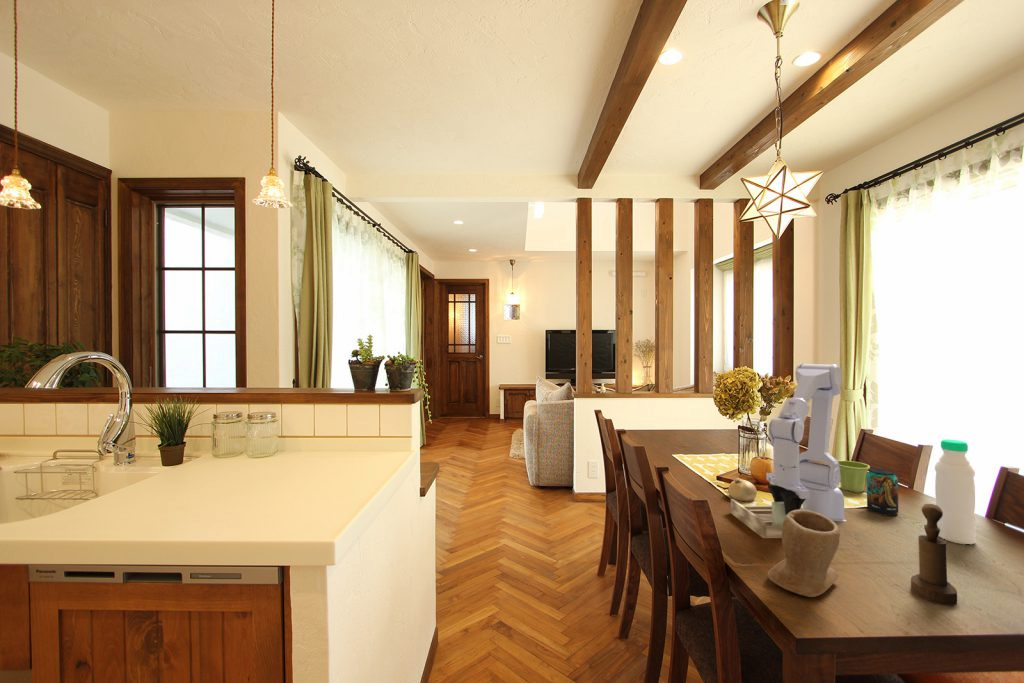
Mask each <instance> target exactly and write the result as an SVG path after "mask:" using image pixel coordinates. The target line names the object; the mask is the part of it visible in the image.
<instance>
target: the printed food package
mask: <svg viewBox="0 0 1024 683" xmlns="http://www.w3.org/2000/svg"><path fill="white" fill-rule="evenodd" d="M866 506H867V508H868V509H869V510H870V511H871V512H873V513H875V514H879V515H884V516H895V515H897V514H898V513H899V478H898V477H897V476H896V473H895V472H894V471H893V470H890V469H889V470H888V469H884V468H878V467H877V468H874V467H873V468H872V467H871V468H869V469H868V472H867V474H866Z"/></svg>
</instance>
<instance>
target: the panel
mask: <svg viewBox="0 0 1024 683" xmlns="http://www.w3.org/2000/svg"><path fill="white" fill-rule="evenodd" d="M771 506H772V526H783V522H784V519H785V517H786V512H785V505H784V502H774V501H771ZM800 510H802V505H801V507H800Z"/></svg>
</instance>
